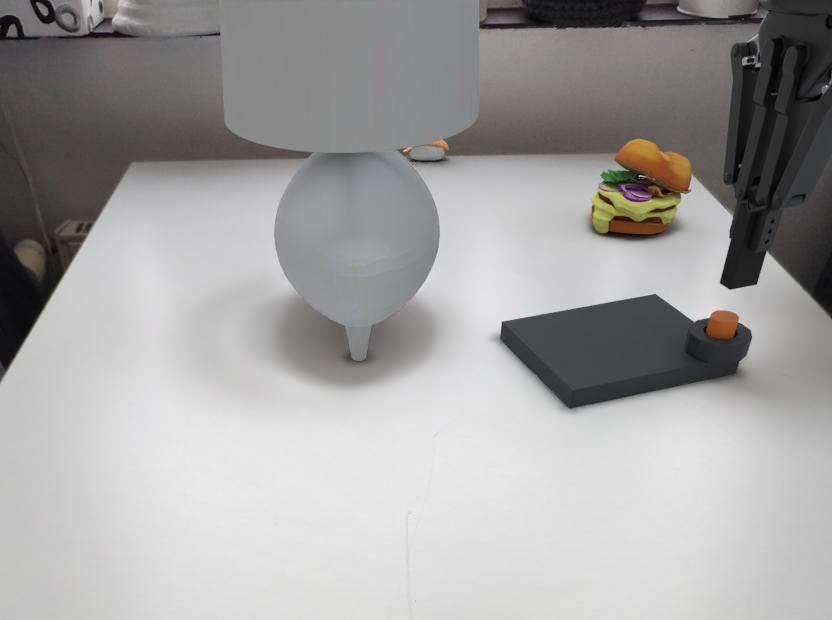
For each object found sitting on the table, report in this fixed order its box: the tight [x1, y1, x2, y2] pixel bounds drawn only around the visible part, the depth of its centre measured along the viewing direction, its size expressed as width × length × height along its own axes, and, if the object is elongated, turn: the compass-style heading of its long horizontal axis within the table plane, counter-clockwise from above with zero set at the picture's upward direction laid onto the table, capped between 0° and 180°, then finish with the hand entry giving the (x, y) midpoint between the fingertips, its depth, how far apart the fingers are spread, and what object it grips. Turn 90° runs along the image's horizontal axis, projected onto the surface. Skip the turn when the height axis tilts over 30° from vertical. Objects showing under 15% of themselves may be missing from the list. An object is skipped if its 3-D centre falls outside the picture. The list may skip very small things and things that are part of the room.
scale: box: [499, 293, 753, 409], centre depth 83 cm, size 18×15×4 cm
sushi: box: [402, 139, 450, 162], centre depth 124 cm, size 3×6×3 cm, turn 88°
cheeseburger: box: [590, 138, 693, 236], centre depth 104 cm, size 10×11×10 cm
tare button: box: [706, 309, 740, 339], centre depth 79 cm, size 2×2×2 cm
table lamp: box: [218, 0, 480, 362], centre depth 75 cm, size 23×22×40 cm
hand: (738, 283), depth 76 cm, fingers closed
